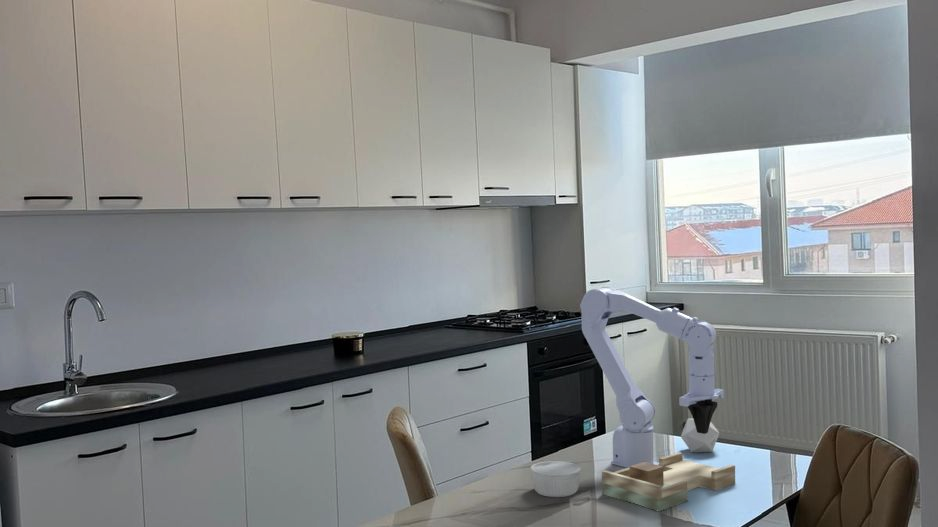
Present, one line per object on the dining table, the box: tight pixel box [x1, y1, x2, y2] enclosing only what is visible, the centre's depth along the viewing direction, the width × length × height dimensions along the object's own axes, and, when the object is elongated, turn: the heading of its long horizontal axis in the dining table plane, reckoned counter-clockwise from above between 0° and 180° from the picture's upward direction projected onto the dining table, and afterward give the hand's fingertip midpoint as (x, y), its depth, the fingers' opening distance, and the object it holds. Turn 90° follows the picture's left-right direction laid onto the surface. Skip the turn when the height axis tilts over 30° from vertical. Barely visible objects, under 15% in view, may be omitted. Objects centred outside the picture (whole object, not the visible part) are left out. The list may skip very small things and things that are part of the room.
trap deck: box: [601, 452, 736, 512], centre depth 179 cm, size 15×27×5 cm, turn 129°
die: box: [680, 417, 720, 453], centre depth 210 cm, size 8×9×10 cm
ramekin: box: [529, 460, 582, 498], centre depth 180 cm, size 11×11×5 cm
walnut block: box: [630, 462, 664, 486], centre depth 174 cm, size 5×5×4 cm
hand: (702, 432), depth 190 cm, fingers closed
